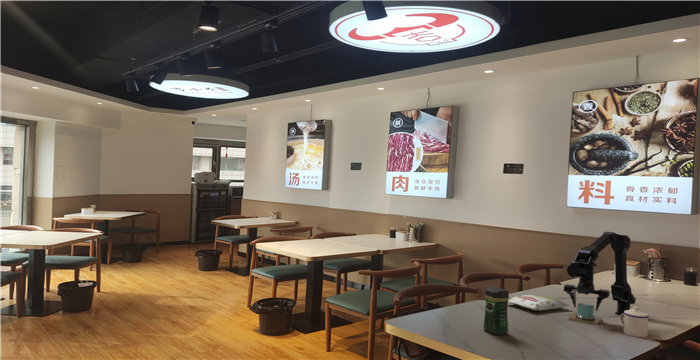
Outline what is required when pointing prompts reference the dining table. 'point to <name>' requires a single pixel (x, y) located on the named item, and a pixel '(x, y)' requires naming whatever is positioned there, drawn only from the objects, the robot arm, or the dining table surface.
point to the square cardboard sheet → (585, 319)
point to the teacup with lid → (635, 322)
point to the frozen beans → (537, 302)
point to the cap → (585, 310)
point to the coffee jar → (496, 310)
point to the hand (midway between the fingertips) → (585, 309)
